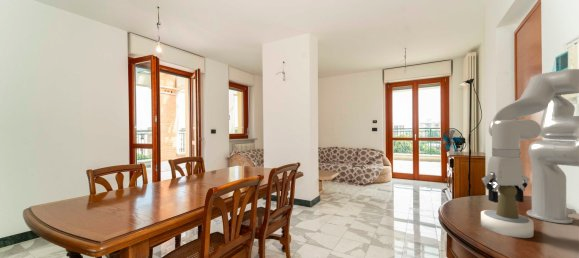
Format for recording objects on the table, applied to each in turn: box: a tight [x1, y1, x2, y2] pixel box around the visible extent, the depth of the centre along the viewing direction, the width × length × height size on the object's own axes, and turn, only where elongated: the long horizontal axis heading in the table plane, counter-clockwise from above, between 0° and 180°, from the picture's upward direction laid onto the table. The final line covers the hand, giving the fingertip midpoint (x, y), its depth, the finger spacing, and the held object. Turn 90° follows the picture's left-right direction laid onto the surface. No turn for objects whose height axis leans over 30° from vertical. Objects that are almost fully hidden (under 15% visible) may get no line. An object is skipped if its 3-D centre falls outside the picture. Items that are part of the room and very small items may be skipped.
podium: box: [480, 209, 535, 239], centre depth 86 cm, size 14×14×5 cm
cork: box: [496, 186, 519, 219], centre depth 86 cm, size 6×6×11 cm
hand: (505, 201), depth 86 cm, fingers open, 9 cm apart
